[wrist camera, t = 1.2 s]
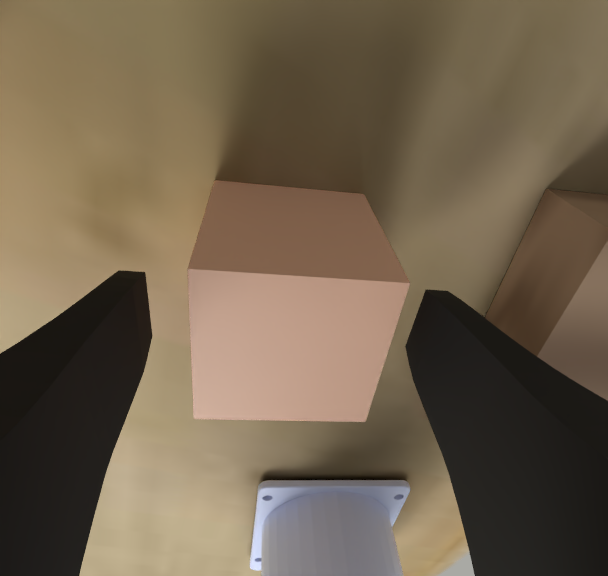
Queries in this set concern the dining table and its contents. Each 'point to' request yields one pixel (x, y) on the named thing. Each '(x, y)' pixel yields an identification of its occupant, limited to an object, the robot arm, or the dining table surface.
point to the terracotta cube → (290, 304)
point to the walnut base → (561, 288)
